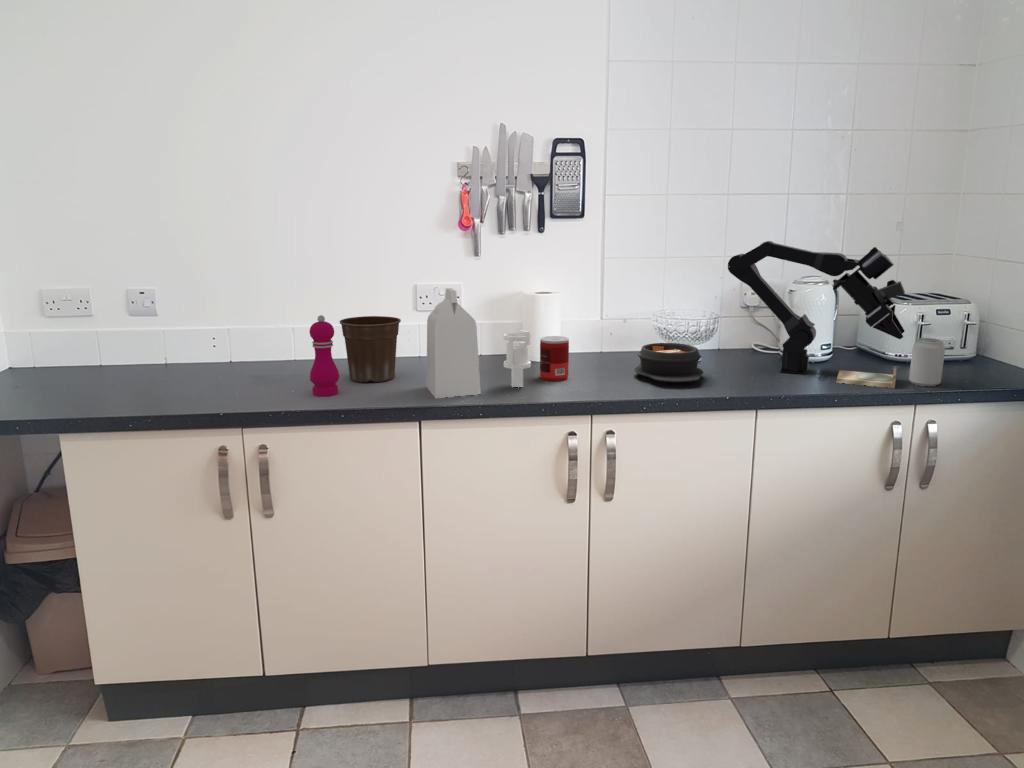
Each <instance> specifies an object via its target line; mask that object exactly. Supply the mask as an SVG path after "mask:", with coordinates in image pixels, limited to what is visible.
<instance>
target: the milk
mask: <svg viewBox="0 0 1024 768" xmlns="http://www.w3.org/2000/svg"><path fill="white" fill-rule="evenodd" d="M444 295H445V296H444V299H443V300H442V301H441V302H439V303H438V304H436V305H435V306H434V308H433V310H432V311H431V312H430V314H429V315H428V316H427V320H426V321H427V322H426V388H427V389H428V391H429V393H431V395H432V396H433V397H434V398H435V399H445V397H448V398H455V397H454V396H461V397H466V396H465V395H474V396H478V395H477V394H481V393H482V392H481V376H480V363H479V361H480V360H479V345H478V344H479V343H478V342H479V340H478V327H477V322H476V319H475V318H474V317H473V316H472V315H471V314H470V313H469V312H468V311H466V309H464V308H463V306H462V305H461V304H459V303H458V298H457V296H458V295H457V290H455V289H453V288H451V287H449V288H447V287H446V288H445V293H444Z"/></svg>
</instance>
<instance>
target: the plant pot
mask: <svg viewBox="0 0 1024 768" xmlns="http://www.w3.org/2000/svg"><path fill="white" fill-rule="evenodd" d="M401 321H402V320H401V318H398V317H394V316H383V315H381V316H380V315H378V316H377V315H370V316H369V315H368V316H367V315H366V316H365V315H364V316H353V317H347V318H343V319H340V320H339V324H340V325H341V331H342V336H343V338H344V344H345V350H346V357H347V365H348V373H349V374H348V375H349V379H350V380H351V381H353V382H357V383H369V382H373V383H380V382H381V383H382V382H383V383H384V382H388V381H391V380H392V379H394V378H395V375H396V357H397V345H398V344H397V342H398V335H399V330H400V329H399V328H400V323H401Z"/></svg>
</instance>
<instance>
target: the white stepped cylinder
mask: <svg viewBox="0 0 1024 768" xmlns="http://www.w3.org/2000/svg"><path fill="white" fill-rule="evenodd" d="M531 339H532V333H531V331H530V330H524V329H521V330H518V331H514V332H513V331H512V332H506V333H503V340H504V341H506V360H504V361H503V367H504V368H505V369H510V371H511V386H512V387H511V388H513V387H518V388H517V389H520V388H519V387H522V388H523V387H524V369H529V368H530V367H532V362H531V360H529V352H528V351H529V350H528V349H529V347H528V346H530V345H531ZM517 342H518V345H517Z"/></svg>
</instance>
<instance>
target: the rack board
mask: <svg viewBox="0 0 1024 768" xmlns="http://www.w3.org/2000/svg"><path fill="white" fill-rule="evenodd" d="M892 371H893V373H892V374H889V373H888V374H887V373H877V372H876V373H875V372H865V371H855V370H854V371H852V370H844V369H843V370H842V369H839V370H838V374H837V377H836V381H835V383H836V384H842V383H845V384H844V385H853V384H855V386H864V385H866V386H865V387H867V386H868V387H874V386H876V387H877V388H885V387H888V389H895V387H896V382H897V381H896V378H897V367H893V370H892ZM876 387H875V388H876Z"/></svg>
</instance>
